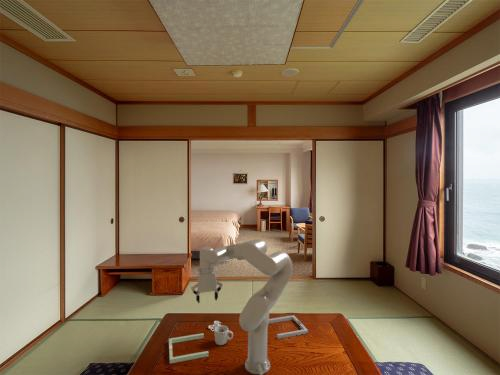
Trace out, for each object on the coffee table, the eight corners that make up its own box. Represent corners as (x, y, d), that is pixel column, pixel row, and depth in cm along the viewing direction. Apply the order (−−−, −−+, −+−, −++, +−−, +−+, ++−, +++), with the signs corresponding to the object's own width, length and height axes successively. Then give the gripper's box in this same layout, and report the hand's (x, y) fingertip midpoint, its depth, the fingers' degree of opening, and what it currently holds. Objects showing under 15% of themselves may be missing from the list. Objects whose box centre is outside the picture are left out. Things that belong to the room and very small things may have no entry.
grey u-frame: (308, 333, 167) (308, 329, 167) (278, 338, 161) (278, 334, 161) (293, 318, 185) (293, 314, 185) (266, 322, 180) (266, 318, 179)
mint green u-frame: (208, 356, 145) (208, 351, 145) (169, 363, 139) (169, 358, 139) (203, 336, 163) (203, 332, 163) (168, 342, 158) (168, 337, 157)
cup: (234, 339, 161) (234, 325, 160) (231, 347, 153) (231, 333, 153) (215, 338, 162) (215, 324, 162) (212, 346, 154) (212, 332, 154)
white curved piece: (206, 330, 170) (206, 324, 170) (211, 324, 178) (211, 317, 178) (220, 332, 168) (220, 326, 168) (224, 325, 176) (224, 319, 176)
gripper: (191, 274, 147) (192, 306, 147) (223, 270, 152) (224, 301, 153) (190, 269, 154) (190, 300, 154) (220, 266, 160) (221, 295, 160)
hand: (207, 300), depth 154 cm, fingers open, 9 cm apart
